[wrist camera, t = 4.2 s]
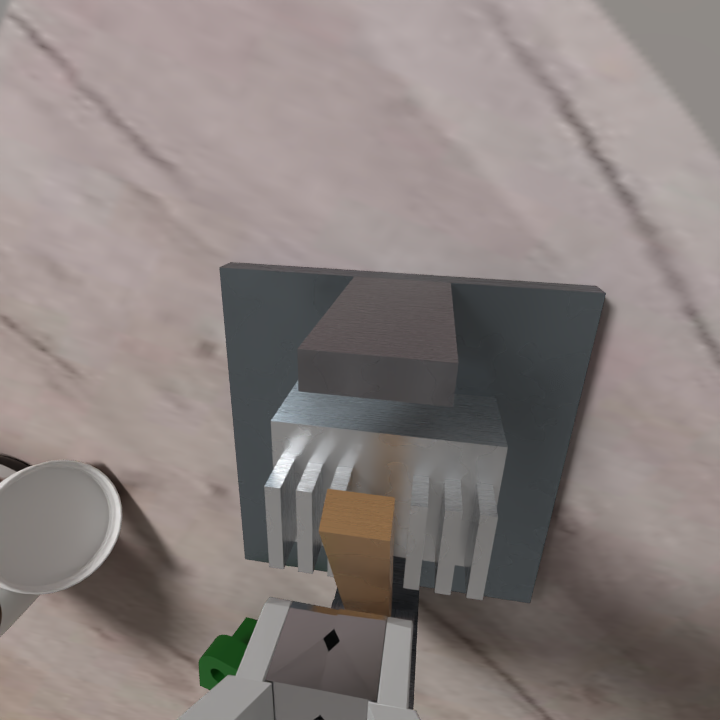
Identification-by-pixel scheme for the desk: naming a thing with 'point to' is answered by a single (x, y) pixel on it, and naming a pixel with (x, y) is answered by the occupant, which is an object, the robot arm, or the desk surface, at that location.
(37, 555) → the chocolate spread jar
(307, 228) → the desk surface
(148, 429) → the desk surface
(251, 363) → the heatsink mount
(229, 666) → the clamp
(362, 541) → the wooden handle
